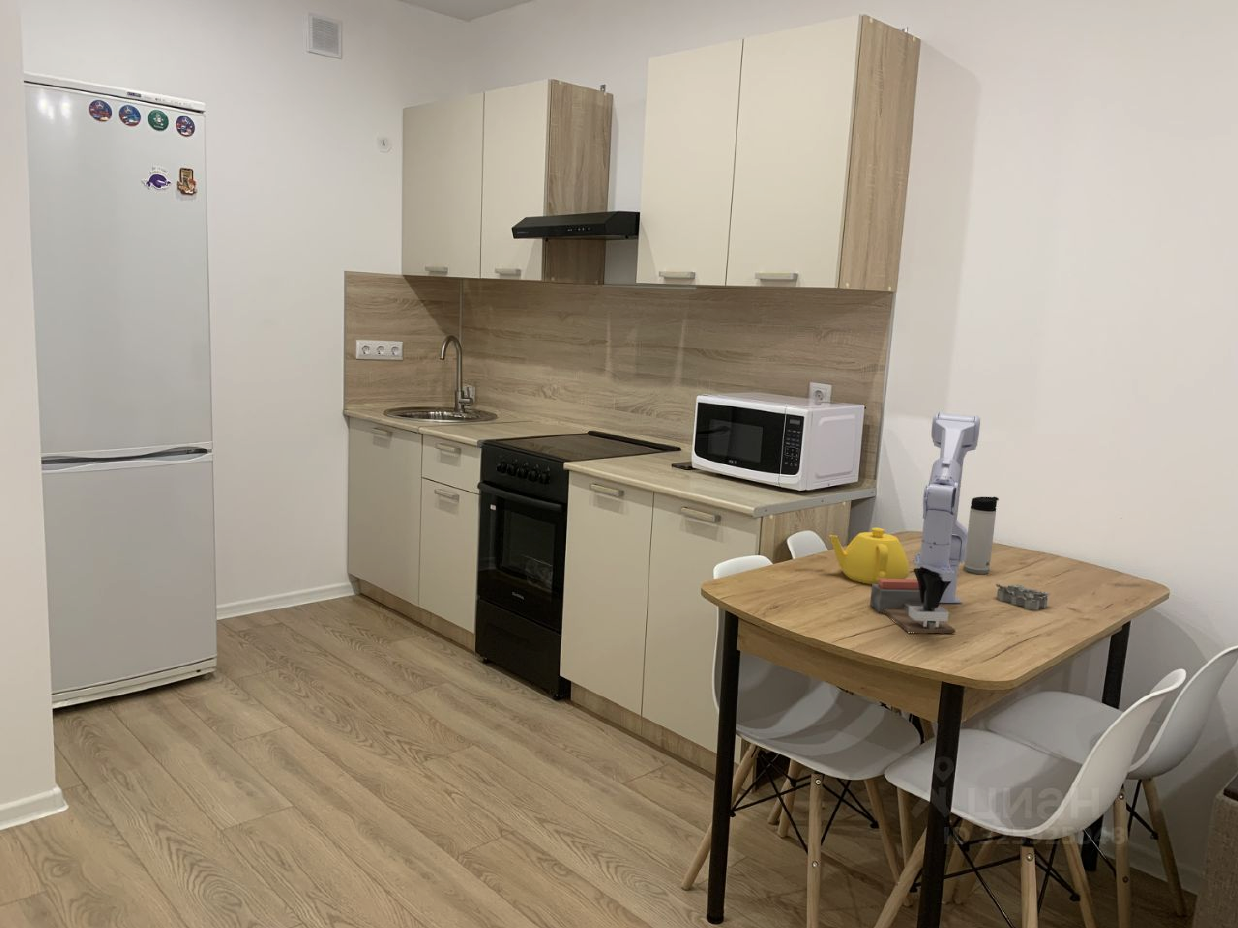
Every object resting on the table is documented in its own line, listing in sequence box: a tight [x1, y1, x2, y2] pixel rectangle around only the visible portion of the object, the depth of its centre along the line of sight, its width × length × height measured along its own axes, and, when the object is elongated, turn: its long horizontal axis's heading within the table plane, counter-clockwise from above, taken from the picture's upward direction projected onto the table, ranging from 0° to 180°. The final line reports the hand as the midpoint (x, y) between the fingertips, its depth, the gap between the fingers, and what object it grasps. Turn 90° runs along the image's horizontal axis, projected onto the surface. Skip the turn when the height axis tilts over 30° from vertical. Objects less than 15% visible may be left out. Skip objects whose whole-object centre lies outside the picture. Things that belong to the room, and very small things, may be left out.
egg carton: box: [995, 583, 1051, 611], centre depth 221 cm, size 11×8×4 cm
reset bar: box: [878, 578, 919, 589], centre depth 211 cm, size 2×10×2 cm, turn 96°
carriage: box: [909, 589, 950, 627], centre depth 197 cm, size 4×7×7 cm, turn 96°
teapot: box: [829, 526, 910, 585], centre depth 235 cm, size 20×19×13 cm
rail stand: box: [869, 584, 956, 634], centre depth 204 cm, size 19×12×5 cm, turn 6°
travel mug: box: [963, 496, 1000, 575], centre depth 247 cm, size 6×7×20 cm
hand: (929, 605), depth 197 cm, fingers closed on carriage, 2 cm apart
